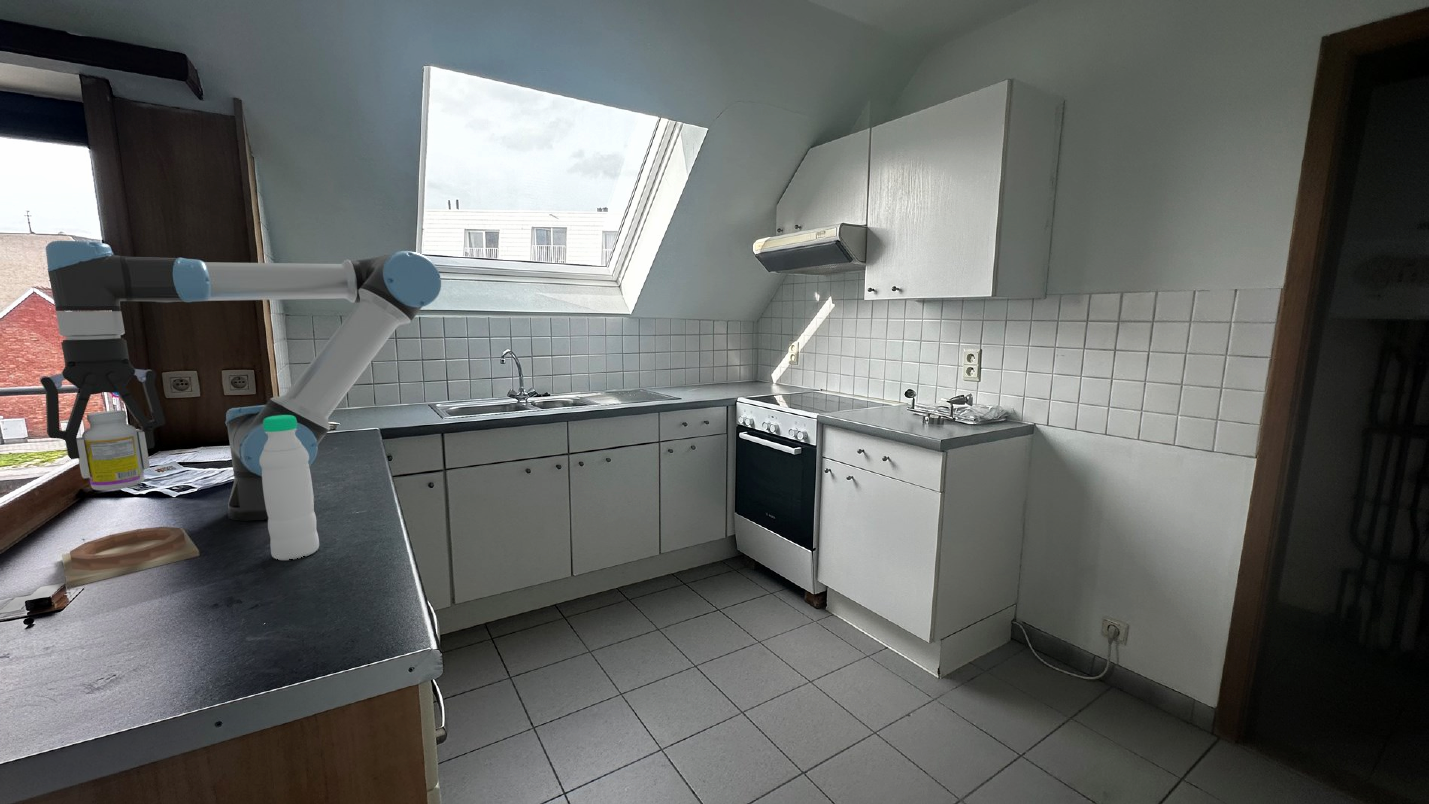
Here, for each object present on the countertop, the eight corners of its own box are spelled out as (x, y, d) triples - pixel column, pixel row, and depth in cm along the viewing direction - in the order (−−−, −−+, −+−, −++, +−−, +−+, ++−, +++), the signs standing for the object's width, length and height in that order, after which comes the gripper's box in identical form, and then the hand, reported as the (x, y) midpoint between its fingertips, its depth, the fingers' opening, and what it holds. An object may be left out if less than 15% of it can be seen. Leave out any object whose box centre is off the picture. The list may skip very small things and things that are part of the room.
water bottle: (328, 549, 108) (313, 414, 104) (287, 564, 102) (269, 421, 98) (304, 543, 111) (288, 411, 107) (263, 557, 105) (244, 418, 101)
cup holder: (183, 533, 116) (181, 518, 116) (199, 555, 106) (197, 539, 105) (62, 559, 104) (59, 543, 104) (67, 587, 94) (64, 570, 93)
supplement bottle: (104, 482, 104) (92, 410, 102) (152, 478, 107) (141, 408, 105) (81, 493, 98) (68, 417, 96) (133, 489, 101) (121, 414, 99)
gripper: (167, 334, 108) (185, 457, 112) (1, 339, 93) (28, 481, 97) (177, 335, 104) (195, 463, 108) (3, 341, 89) (32, 489, 92)
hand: (116, 471), depth 102 cm, fingers closed on supplement bottle, 7 cm apart
